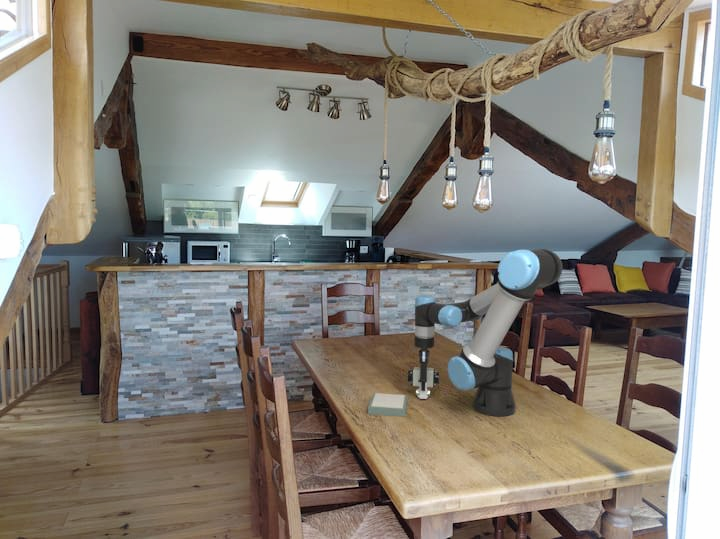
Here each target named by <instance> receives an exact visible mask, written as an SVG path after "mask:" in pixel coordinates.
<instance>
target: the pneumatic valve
mask: <svg viewBox="0 0 720 539" xmlns="http://www.w3.org/2000/svg"><path fill="white" fill-rule="evenodd" d="M418 380H420V366H412V368H411V370H410V369H409V370H408V371H407V382H408V383H410V385H411V387H417V388H416V389H415V390H416V391H415V395H416V396H417V398H419V397H420V382H418ZM437 384H438V385H439V384H440V372H438V371H437V368H436V367H427V399H428V398H429V397H430V396H431V389H429V388H436V385H437Z"/></svg>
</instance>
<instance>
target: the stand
mask: <svg viewBox="0 0 720 539" xmlns="http://www.w3.org/2000/svg"><path fill="white" fill-rule="evenodd" d="M408 397H409V396H408V394H399V393H398V394H396V393H381V392H380V393H379V392H373V393H372V395H371V398H370V401H369V404H368V407H367V414H368V415H376V416H390V417H404V418H405V417H406V413H407V406H408Z"/></svg>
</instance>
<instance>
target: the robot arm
mask: <svg viewBox="0 0 720 539" xmlns="http://www.w3.org/2000/svg"><path fill="white" fill-rule="evenodd" d="M497 273H498V275H497V277H498V280H497V282H496V284H494V285H491V286H490V287H488V288H486V289H485V290H483V291H481V292H479V293H478V294H476V295H474V296H472V297H470V298H468V299H467V300H465V301H460V302H453V303H445V304H443V303H439V302H436V298H435V296H434V295H426V294H424V295H422V294H421V295H417V296H416V297H415V301H414V327H412V329H413V330H414V342H413V343H414V344H413V345H414V347H416V348H418V349H419V348H420V349H419V350H418V358H419V359H418V360H419V361H418V363H419V367H420V380H418V382H420V397H418V398H419V399H420V400H421V399H422V400H423V399H425V400H427V399H428V398H427V368H428V364H429V357H430V350H428V349H432V348H434V347H435V333H436V332H435V329H436V326H435V325H441V326H445V328H446V327H447V328H449V327H450V328H455V327H457V326H458V325H460V324H461V323H468V322H475V321H478V320H480V319H482V317H483V316H484V315H485V316H484V317H483V320H482V321H481V323H480V325H479V327H478V329H477V330H476V332H475V334H474V336H473V338H472V340H471V341H470V342H469V343H465V344H464V345H463V347H462V349H461V351H460V353H459V354H458V355H456V356H453V357H452V358H450V359H449V360H448V363H447V370H446V371H447V374H448V378H449V380H450V382H451V383H452V385H453V386H454V387H455V388H457V389H458V390H460V391H471V390H474V389H476V392H475V394H474V396H473V399H472V409H473V410H474V411H476V412H478V413H481V414H483V415H487V416H493V417H508V416H512V415H514V414H515V413H516V406H517V405H516V402H515V398H514V394H513V391H512V383H513V382H512V381H513V364H514V354H513V351H512V350H511V349H510V348H508V347H505V346H500V345H501V344H502V343H503V341H504V338H505V337H506V335H507V333H508V331H509V330H510V328H511V326H512V324H513V323H514V321H515V319H516V318H517V316H518V314H519V312H520V310H521V308H522V307H523V305H524V304H525V302H527V301H530V300H532V299H533V298H534V296H535V294H536V293H537V291H539V290H541V289H543V288H546V287H548V286H550V285H553V284H555V283H556V282H557V281H558V280H559V279H560V278H561V276H562V273H563V263H562V260H561V258H560V257H559V256H558V254H556V253H555V252H553V251H552V250H549V249H545V248H544V249H543V248H542V249H518V250H513V251H510V252H508V253H506V254H505V255H504V256H503V257H502V258H501V260H500V261H499V264H498V267H497Z"/></svg>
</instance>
